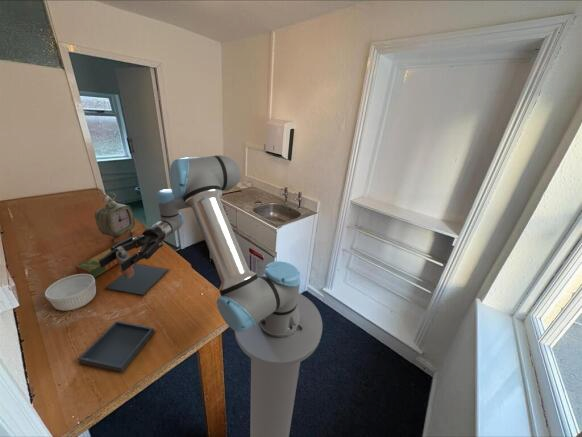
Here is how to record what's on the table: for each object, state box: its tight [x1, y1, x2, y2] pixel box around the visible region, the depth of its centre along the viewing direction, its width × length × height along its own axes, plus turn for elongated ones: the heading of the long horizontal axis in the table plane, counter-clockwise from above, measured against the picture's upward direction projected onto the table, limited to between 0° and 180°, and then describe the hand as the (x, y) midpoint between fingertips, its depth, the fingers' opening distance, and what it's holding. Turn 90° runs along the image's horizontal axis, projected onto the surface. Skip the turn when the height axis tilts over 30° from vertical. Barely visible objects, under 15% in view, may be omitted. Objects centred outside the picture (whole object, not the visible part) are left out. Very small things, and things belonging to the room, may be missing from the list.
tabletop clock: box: [94, 192, 136, 244], centre depth 120 cm, size 14×9×25 cm, turn 168°
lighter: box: [116, 246, 134, 278], centre depth 82 cm, size 8×3×10 cm, turn 48°
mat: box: [105, 263, 169, 296], centre depth 98 cm, size 16×16×1 cm
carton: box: [75, 248, 119, 279], centre depth 102 cm, size 8×16×4 cm, turn 163°
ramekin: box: [44, 273, 97, 312], centre depth 84 cm, size 13×13×7 cm
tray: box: [77, 320, 155, 373], centre depth 71 cm, size 13×13×2 cm
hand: (111, 265), depth 77 cm, fingers closed on lighter, 7 cm apart
